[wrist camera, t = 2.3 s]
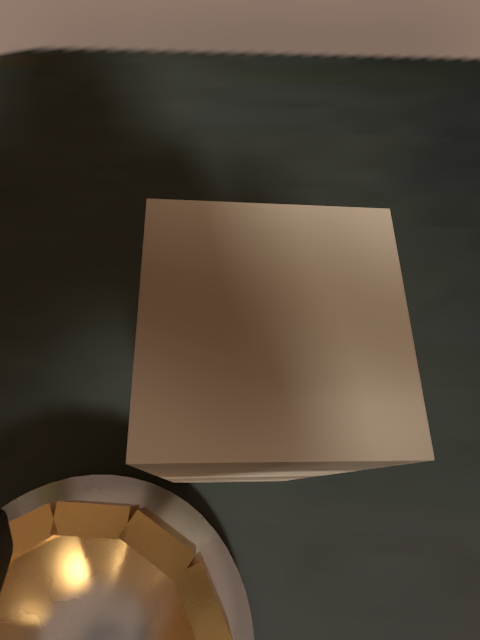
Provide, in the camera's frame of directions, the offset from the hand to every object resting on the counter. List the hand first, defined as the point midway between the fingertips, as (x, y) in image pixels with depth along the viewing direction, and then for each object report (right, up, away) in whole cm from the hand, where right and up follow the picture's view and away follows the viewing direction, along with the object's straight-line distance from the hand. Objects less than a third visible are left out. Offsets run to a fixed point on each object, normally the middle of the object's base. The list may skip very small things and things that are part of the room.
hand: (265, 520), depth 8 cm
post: (-1, -1, +11) cm, 11 cm away
